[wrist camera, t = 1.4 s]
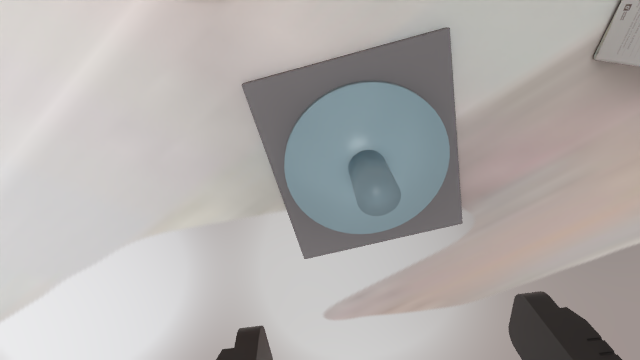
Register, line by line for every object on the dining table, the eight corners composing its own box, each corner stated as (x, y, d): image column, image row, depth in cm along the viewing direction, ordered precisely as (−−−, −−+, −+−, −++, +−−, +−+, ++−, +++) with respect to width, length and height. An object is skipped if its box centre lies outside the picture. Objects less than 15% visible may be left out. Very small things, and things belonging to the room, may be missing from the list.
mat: (446, 27, 25) (449, 27, 25) (459, 219, 33) (462, 223, 33) (242, 83, 26) (241, 85, 26) (304, 255, 35) (304, 259, 34)
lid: (438, 59, 26) (473, 74, 20) (450, 208, 32) (479, 249, 27) (262, 106, 27) (252, 132, 21) (308, 241, 33) (309, 287, 28)
